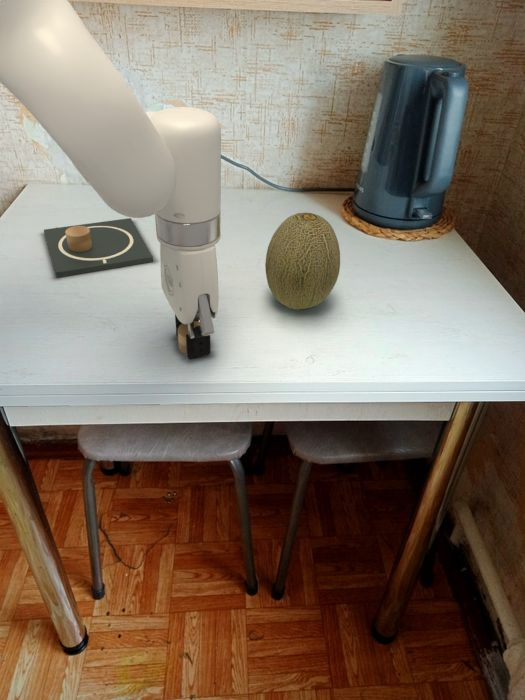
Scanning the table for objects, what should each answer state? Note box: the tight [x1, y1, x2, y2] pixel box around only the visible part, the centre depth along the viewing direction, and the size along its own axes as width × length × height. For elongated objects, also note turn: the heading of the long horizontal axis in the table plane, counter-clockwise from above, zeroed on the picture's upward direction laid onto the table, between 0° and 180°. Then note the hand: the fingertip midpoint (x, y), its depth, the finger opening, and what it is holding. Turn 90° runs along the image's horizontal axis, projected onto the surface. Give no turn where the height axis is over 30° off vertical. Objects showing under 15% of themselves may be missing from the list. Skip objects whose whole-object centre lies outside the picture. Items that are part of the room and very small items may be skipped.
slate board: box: [43, 217, 154, 278], centre depth 91 cm, size 16×16×1 cm
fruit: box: [264, 212, 341, 310], centre depth 76 cm, size 11×11×15 cm
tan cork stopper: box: [177, 321, 200, 356], centre depth 70 cm, size 4×4×3 cm
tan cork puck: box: [65, 225, 92, 252], centre depth 88 cm, size 4×4×3 cm
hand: (193, 344), depth 71 cm, fingers closed on tan cork stopper, 4 cm apart
